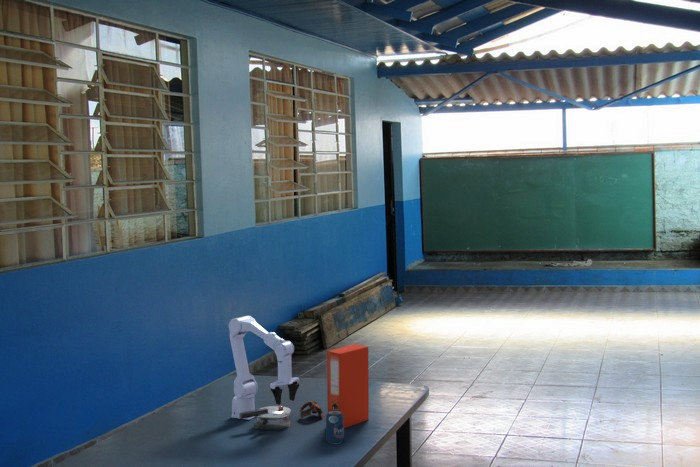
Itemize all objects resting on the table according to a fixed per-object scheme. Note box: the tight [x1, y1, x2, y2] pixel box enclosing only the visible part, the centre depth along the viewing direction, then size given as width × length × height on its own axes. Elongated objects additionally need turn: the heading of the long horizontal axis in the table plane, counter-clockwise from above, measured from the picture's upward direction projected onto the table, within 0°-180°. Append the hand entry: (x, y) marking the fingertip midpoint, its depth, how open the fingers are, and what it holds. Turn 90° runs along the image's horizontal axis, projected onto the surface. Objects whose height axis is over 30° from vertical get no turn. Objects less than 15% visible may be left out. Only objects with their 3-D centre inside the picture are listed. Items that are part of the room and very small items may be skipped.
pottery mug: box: [299, 400, 324, 420], centre depth 365 cm, size 12×10×8 cm
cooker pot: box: [253, 414, 291, 431], centre depth 352 cm, size 24×14×5 cm, turn 156°
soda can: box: [325, 410, 345, 445], centre depth 332 cm, size 7×7×12 cm
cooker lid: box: [239, 405, 292, 420], centre depth 352 cm, size 22×15×2 cm, turn 121°
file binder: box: [326, 343, 370, 429], centre depth 355 cm, size 8×17×32 cm, turn 137°
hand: (285, 402), depth 353 cm, fingers open, 7 cm apart
